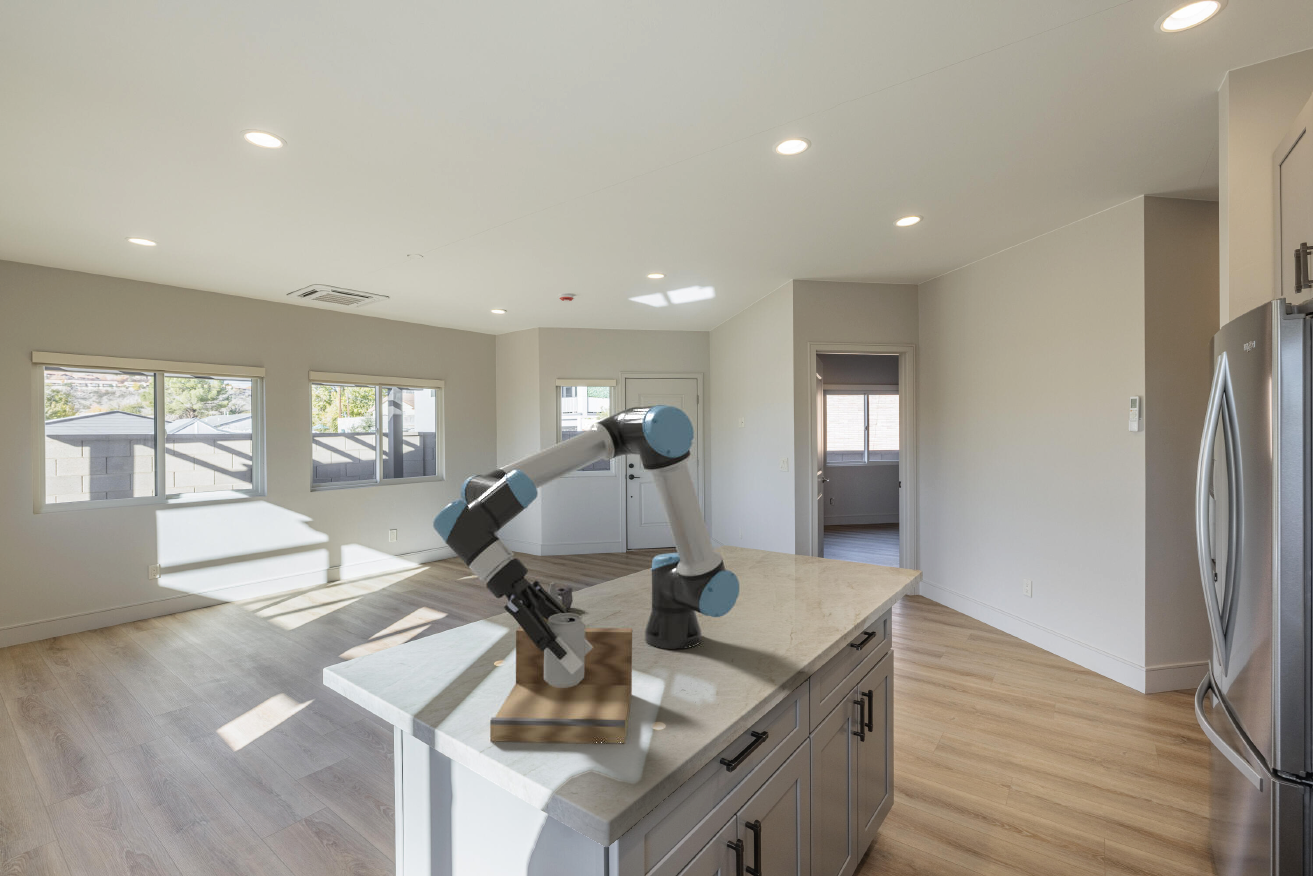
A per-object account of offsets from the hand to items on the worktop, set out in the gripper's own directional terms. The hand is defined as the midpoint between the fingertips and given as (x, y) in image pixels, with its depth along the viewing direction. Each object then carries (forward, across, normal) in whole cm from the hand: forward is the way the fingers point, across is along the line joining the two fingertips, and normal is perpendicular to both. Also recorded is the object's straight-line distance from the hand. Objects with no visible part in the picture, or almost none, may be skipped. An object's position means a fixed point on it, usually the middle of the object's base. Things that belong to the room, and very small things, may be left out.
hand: (582, 660), depth 110 cm
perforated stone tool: (-8, -69, -27) cm, 75 cm away
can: (+1, 0, -6) cm, 6 cm away
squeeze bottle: (-2, -35, -20) cm, 41 cm away
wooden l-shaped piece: (+6, -5, -12) cm, 15 cm away
